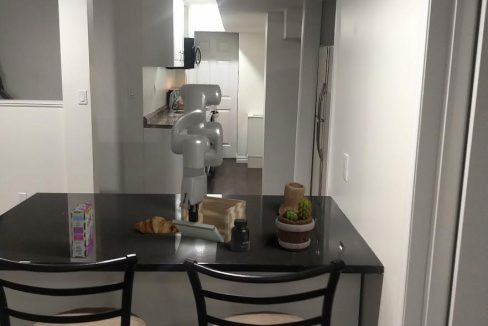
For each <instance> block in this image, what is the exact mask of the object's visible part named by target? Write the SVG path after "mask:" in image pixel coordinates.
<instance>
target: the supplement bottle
mask: <svg viewBox="0 0 488 326" xmlns="http://www.w3.org/2000/svg"><path fill="white" fill-rule="evenodd" d="M250 234H251V230H250V228H249V227H248V219H247V218H245V219H242V218H239V219H235V220H234V227H232V229H231V240H230V251H232V252H233V253H240V254H241V253H247V252H249V251H250V243H251V242H250V240H251V239H250V238H251V237H250V236H251V235H250Z"/></svg>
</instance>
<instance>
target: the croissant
mask: <svg viewBox="0 0 488 326" xmlns="http://www.w3.org/2000/svg"><path fill="white" fill-rule="evenodd" d="M172 221H173V219H171V220H170V219H169V220H167V219H165V218H164V217H161V216H154V215H153V216H152V218H151V219H150V218H148V219H145V221H139V222H138V223H137V222H136V223H135V222H134V223H133V227H134V228H135V229H137V230H138V231H140V232H141V233H143V234H147V233H152V234H167V233H169V234H173V233H181V232H180V231H179V230H178V229H177V227H176V226H175V225H174V224H173V223H172Z"/></svg>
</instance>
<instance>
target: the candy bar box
mask: <svg viewBox="0 0 488 326" xmlns="http://www.w3.org/2000/svg"><path fill="white" fill-rule="evenodd" d="M93 213H94V211H93V203H78V204H77V205H76V206H75V208H74V209H72V210H71V211H70V222H71V223H70V224H71V225H70V226H71V254H72V255H71V256H72V258H75V257H84V258H87V257H88V255H89V254H88V253H90V252H91V251H92V249H93V248H94V225H93V223H94V222H93V221H94V219H93V218H94V217H93V216H94V215H93ZM92 247H93V248H92ZM90 250H91V251H90Z"/></svg>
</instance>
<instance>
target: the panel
mask: <svg viewBox="0 0 488 326" xmlns="http://www.w3.org/2000/svg"><path fill="white" fill-rule="evenodd" d="M172 223H173V224H174V225H175V226H176V227H177V229H178V230H179V231H180V232H179V233H180V234H181V233H182V234H183V235H182V236H183V237H188V238H193V239H194V238H195V239H201V240H207V241H213V242H218V243H224V242H225V241H224V239H223V238H222V236H221V235H220V233H219V232H218V230H217V229H216V227H215V226H214V225H208V224H201V223H194V222H188V221H181V219H174V218H173V219H172Z"/></svg>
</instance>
